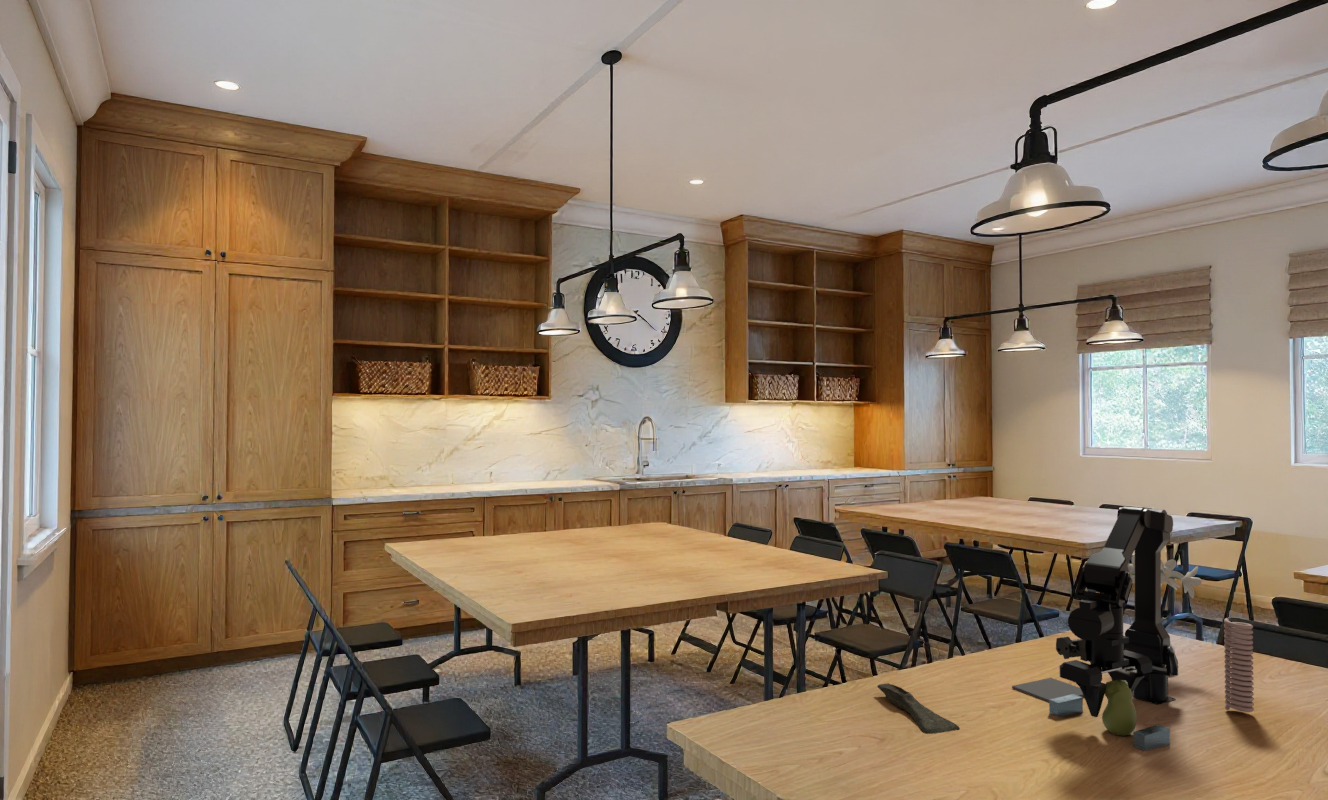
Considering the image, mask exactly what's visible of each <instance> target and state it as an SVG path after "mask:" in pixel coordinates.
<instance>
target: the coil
mask: <svg viewBox="0 0 1328 800" xmlns="http://www.w3.org/2000/svg"><path fill="white" fill-rule="evenodd" d="M1223 622H1224V624H1223V628H1225V629H1224V630H1223V632H1224V635H1223V637H1224V640H1223V641H1224V646H1223V647H1224V651H1223V652H1224V655H1223V657H1224V678H1225V679H1224V689H1225V690H1224V698H1225V700H1224V703H1225V706H1224V708H1225V710H1226V711H1230V709H1233V710H1236V711H1240V712H1242V713H1243V712H1245V713H1252V712H1254V711H1255V708H1254V705H1255V704H1254V700H1255V699H1254V697H1253V696H1254V695H1255V693H1254V687H1253V686H1254V685H1255V683H1254V682H1253V680H1254V676H1253V675H1254V674H1255V673H1254V671H1253V670H1254V666H1253V665H1254V661H1253V660H1254V657H1253V654H1254V651H1253V649H1254V646H1253V644H1254V641H1253V639H1254V636H1253V635H1252V634H1254V631H1253V630H1252V629H1253V628H1254V625H1252V624H1251V623H1247V622H1239V621H1232V622H1231V621H1230V619H1229V618H1228V617H1226V618H1224V619H1223Z"/></svg>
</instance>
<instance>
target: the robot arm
mask: <svg viewBox="0 0 1328 800" xmlns="http://www.w3.org/2000/svg"><path fill="white" fill-rule="evenodd" d="M1116 518H1117V519H1115V520H1116V521H1115V523H1114V525H1113V527H1112V528H1111V531H1110V533H1109V535H1108V537H1107V539H1106V541H1105V544H1104V546H1103V548H1102V549H1101V550H1100V551H1098V552H1095V553H1093V554H1091V555H1090V556H1089V558H1088V559H1087V560H1086V562H1085V564H1084V565H1082V567H1081V569H1080V573H1079V577H1078V580H1077V584H1076V588H1075V593H1074V599H1077V600H1079V601H1078V604H1079V606H1078V607H1077V608H1075V609H1073V610H1071V612H1070V613H1069V616H1068V618H1067V625H1068V627H1069V630H1070V632H1071V633H1072V634H1073V635H1074V636H1076V637H1077V639H1071V638H1070V636H1064V637H1063V636H1062V637H1057V638H1056V641H1055V651H1056V652H1057V654H1058V655H1060V656H1062V657H1063V659H1064V660H1068V659H1070V658H1079V659H1080V660H1081V661H1080V660H1077V659H1074V660H1070V661H1064V662H1062V663H1061V664H1060V665H1059V666H1058V667H1059V677H1060V678H1061V679H1065V680H1068V681H1069V682H1073V683H1076V685H1077V687H1079V688H1080V689H1081V691H1082V693H1083V695H1084V697H1083V698H1084V700H1085V702H1086V703H1085V704H1086V706H1087V709H1088V710H1089V714H1090V716H1092V717H1094V718H1098V716H1099V713H1100V711H1101V708H1102V705H1103V700H1104V699H1105V698H1104V697H1105V691H1106V687H1107V684H1106V683H1105V682H1104V683H1103V682H1102V680H1103V674H1106V673H1107V674H1108V675H1109V677H1110V678H1111V681H1114V680H1125V681H1126V682H1127V683H1128V687H1129V689H1131V692H1132V698H1135V699H1137V700H1141V701H1145V702H1147V703H1149V704H1153V705H1157V706H1158V705H1162V704H1166V703H1171V702H1173V701H1176V700H1177V699H1176V698H1175V697H1171V696H1169V677H1171V678H1172V676H1173V677H1174V676H1175V677H1176V676H1179V661H1178V658H1177V655H1176V652H1175V653H1174V650H1173V648H1172V647H1171V646H1170V642H1171V637H1170V634H1169V633H1168V631H1167V629H1166V628H1165V627H1164V625H1163V624H1162V622H1161V621H1162V619H1161V618H1162V615H1161V614H1162V613H1161V611H1162V609H1161V608H1162V606H1161V605H1162V601H1161V599H1162V598H1161V597H1162V595H1161V594H1162V593H1161V591H1162V589H1161V588H1162V586H1161V583H1162V582H1161V560H1162V559H1161V557H1162V555H1161V554H1162V553H1161V552H1162V551H1163V549H1164V548H1165V546H1166V545H1167V544H1168V543H1169V541H1170V539H1171V534H1172V532H1173V529H1174V519H1173V516H1172V515H1171V514H1168V512H1167V510H1166V509H1161V508H1160V509H1159V508H1146V507H1139V506H1138V507H1137V506H1125V505H1124V506H1122V507H1119V508H1118V511H1117V517H1116ZM1133 554H1134V555H1135V584H1134V619H1133V622H1132V623H1131V625H1130V626H1129V627H1128V628H1127V629H1126V630H1125V632H1124V603H1125V602H1126V601H1128V597H1129V594H1130V591H1131V588H1132V585H1133V583H1132V578H1131V576H1130V575H1131V574H1130V573H1129V569H1128V563H1129V564H1130V561H1131V560H1132V556H1133ZM1083 661H1084V662H1083ZM1087 662H1089V663H1087Z"/></svg>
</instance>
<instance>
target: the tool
mask: <svg viewBox="0 0 1328 800" xmlns="http://www.w3.org/2000/svg"><path fill="white" fill-rule="evenodd" d="M876 687H877V688H878V689H879V690H880V691H881V693H883V694H884V695H885V698H886V699H888V700H889V701H890V702H891V703H892V704H893V705H894V706H895V707H896V708H898V709H899V710H904V711H906V712H907V713H908V714H909V715H910V716H911V717H912V719H913V720H914V721H915V723H916V724H917V726H918V728H919V729H920V730H921V731H922V732H923V733H924V734H929V735H930V734H931V735H932V734H940V733H947V732H948V733H949V732H954V731H957V730H960V726H959V725H957V724H956V723H955V722H953V721H951V720H949V719H947V718H944V717H943V716H941V715H939V714H937V713H936V712H934V711H932V710H931V709H929V708H928V707H926V706H924V705H923V704H921V702H919V701H918V700H917V699H916V698H915V697H914V696H913V694H912V693H911V692H910V691H906V690H905V689H904V688H902V687H899V686H898V685H895V684H892V683H881V684H878V685H877V686H876Z"/></svg>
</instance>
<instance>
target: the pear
mask: <svg viewBox="0 0 1328 800" xmlns="http://www.w3.org/2000/svg"><path fill="white" fill-rule="evenodd" d="M1105 684H1107V687H1106V691H1105V694H1104V697H1106V699H1107V704H1106V706H1105V708H1104V710H1103V711H1102V714H1101V720H1102V724H1103V726H1104V727H1105V729H1106V730H1107V731H1109V732H1110V733H1111V734H1114V735H1116V736H1121V737H1123V736H1124V737H1125V736H1128V735H1130V734H1133V732H1134V731H1135V729H1136V727H1137V726H1136V725H1137V711H1136V707H1135V704H1134V703H1133V697H1132V692H1131V689H1129V687H1128V683H1127V682H1126V681H1125V680H1114V681H1112V680H1111V681H1109V680H1108V681H1106V683H1105Z"/></svg>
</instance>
